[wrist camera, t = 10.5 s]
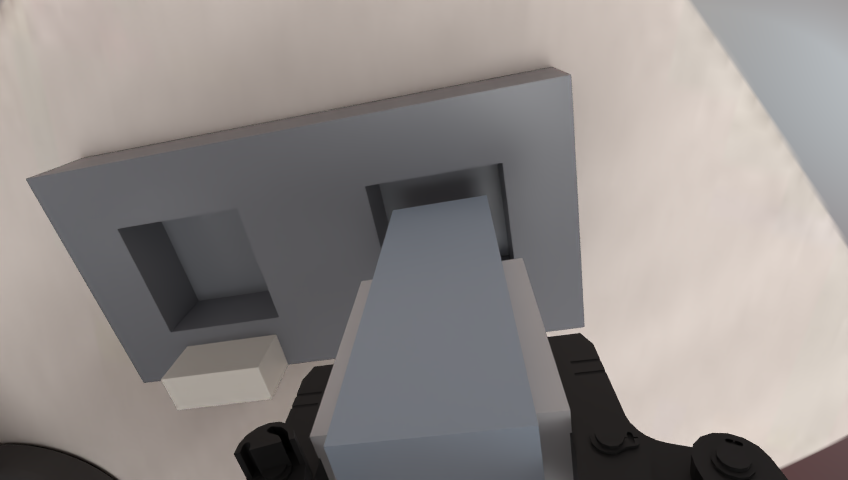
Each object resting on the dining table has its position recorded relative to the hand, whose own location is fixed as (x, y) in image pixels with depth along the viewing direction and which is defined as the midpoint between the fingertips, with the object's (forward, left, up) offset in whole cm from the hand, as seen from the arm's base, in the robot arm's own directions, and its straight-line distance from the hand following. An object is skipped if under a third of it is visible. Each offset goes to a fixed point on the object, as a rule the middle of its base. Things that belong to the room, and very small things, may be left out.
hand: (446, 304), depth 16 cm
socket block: (-6, 0, -9) cm, 11 cm away
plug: (0, 0, -5) cm, 5 cm away
